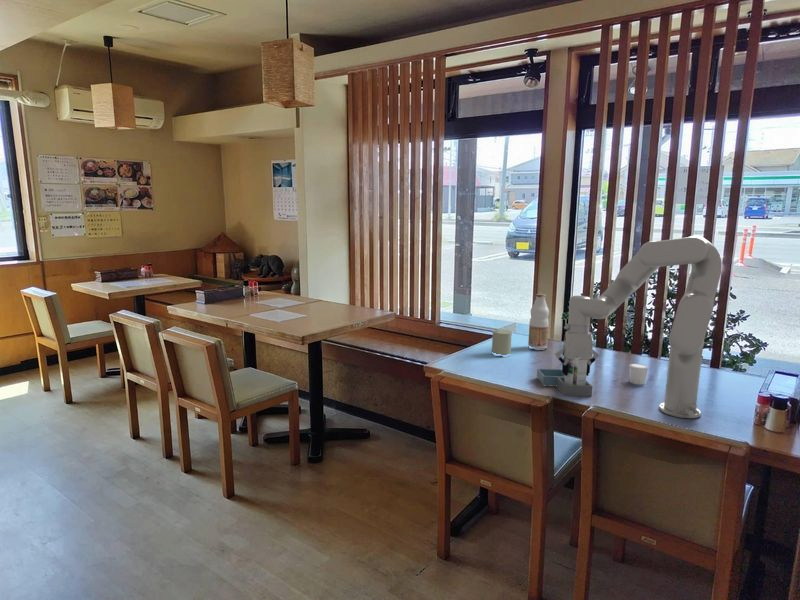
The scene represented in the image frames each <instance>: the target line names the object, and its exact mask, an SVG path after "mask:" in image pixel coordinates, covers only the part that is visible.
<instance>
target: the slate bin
mask: <svg viewBox="0 0 800 600" xmlns="http://www.w3.org/2000/svg"><path fill="white" fill-rule="evenodd" d="M537 377H538V379H539V380H540V381H541V383H542V384H543V385H557V377H565V375H564V374H563V372H562V369H559V368H558V369H557V368H537V370H536V378H537ZM538 379H537V380H538ZM539 380H538V381H539ZM541 383H540V384H541ZM542 384H541V385H542ZM543 385H542V386H543Z"/></svg>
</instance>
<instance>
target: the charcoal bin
mask: <svg viewBox="0 0 800 600" xmlns="http://www.w3.org/2000/svg"><path fill="white" fill-rule="evenodd" d="M557 387H558V388H559V389H560V390H559V389H558V388H557ZM556 388H557V389H558V390H559V392H560V393H561V394H562V393H563V394H564V395H565V396H564V395H563V396H564V397H592V396H593V395H592V394H593V385H592V384H591V383H589V382H588V381H587V380H586V386H579V385H566V384H565V377H557V386H556Z"/></svg>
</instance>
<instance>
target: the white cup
mask: <svg viewBox="0 0 800 600" xmlns="http://www.w3.org/2000/svg"><path fill="white" fill-rule="evenodd" d="M628 368H629V383H631V384H634V385H639V386H640V385H645V383H646V379H647V375H648V368H649V366H648V365H646V364H642V363H629V367H628Z"/></svg>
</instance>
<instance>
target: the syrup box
mask: <svg viewBox="0 0 800 600" xmlns="http://www.w3.org/2000/svg"><path fill="white" fill-rule="evenodd" d="M567 365H568V375H567V376H565V384H566V385H579V386H586V381H587V376H586V373H587V360H582V359H581V358H580V357H575V359H574V360H569V361H568V363H567Z"/></svg>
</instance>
